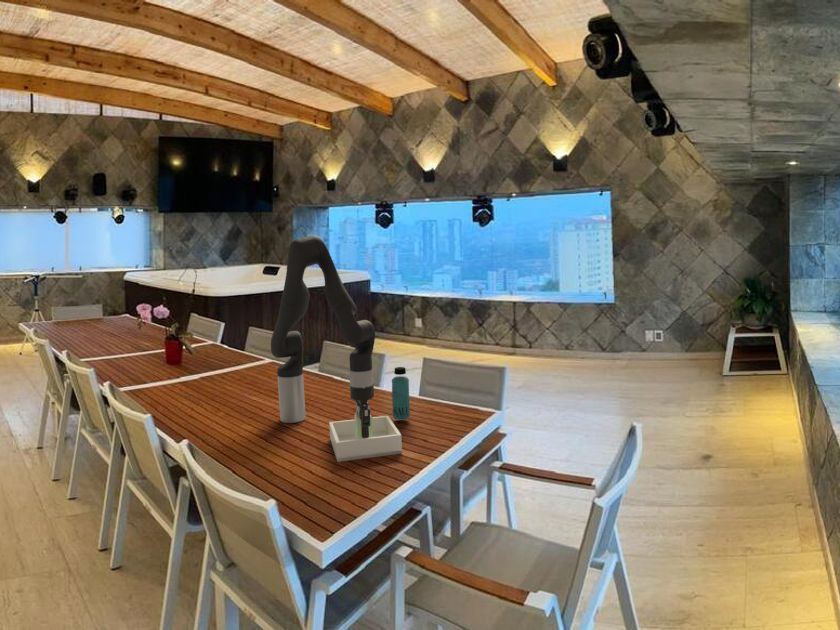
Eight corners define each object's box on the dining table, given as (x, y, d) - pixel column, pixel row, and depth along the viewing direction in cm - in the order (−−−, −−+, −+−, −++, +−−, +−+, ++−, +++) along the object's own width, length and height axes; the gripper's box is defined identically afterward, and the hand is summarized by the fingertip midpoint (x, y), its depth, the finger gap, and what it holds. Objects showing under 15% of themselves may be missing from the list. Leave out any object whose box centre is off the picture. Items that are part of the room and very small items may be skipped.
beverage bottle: (402, 417, 210) (400, 364, 207) (414, 420, 205) (412, 367, 202) (388, 421, 205) (386, 367, 203) (401, 425, 201) (399, 370, 198)
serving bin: (330, 439, 189) (329, 422, 188) (388, 432, 194) (387, 415, 193) (337, 461, 170) (336, 442, 169) (402, 453, 175) (401, 434, 174)
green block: (355, 437, 183) (354, 413, 182) (370, 435, 184) (369, 411, 183) (357, 442, 179) (356, 418, 177) (372, 440, 180) (371, 416, 179)
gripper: (346, 379, 185) (349, 429, 187) (353, 390, 171) (355, 444, 173) (369, 377, 187) (371, 426, 189) (377, 387, 173) (379, 441, 175)
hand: (364, 434), depth 181 cm, fingers closed on green block, 4 cm apart
